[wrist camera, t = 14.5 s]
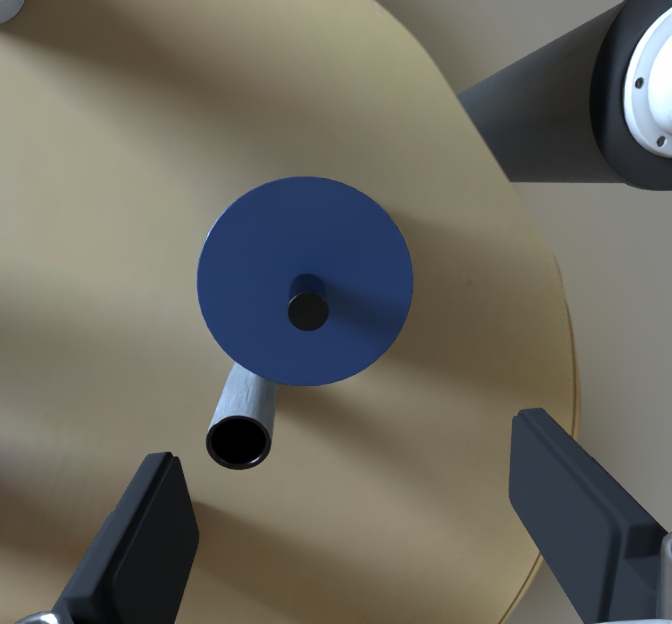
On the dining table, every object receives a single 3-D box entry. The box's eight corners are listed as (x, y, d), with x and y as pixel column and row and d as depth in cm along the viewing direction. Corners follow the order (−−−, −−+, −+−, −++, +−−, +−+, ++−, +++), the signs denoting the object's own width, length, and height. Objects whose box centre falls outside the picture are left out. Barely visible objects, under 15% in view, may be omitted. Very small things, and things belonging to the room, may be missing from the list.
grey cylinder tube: (235, 349, 37) (211, 409, 27) (284, 359, 38) (277, 422, 28) (225, 392, 38) (199, 464, 28) (273, 401, 39) (263, 475, 29)
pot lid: (332, 128, 24) (341, 113, 18) (445, 307, 28) (479, 337, 22) (154, 262, 25) (115, 283, 20) (286, 413, 29) (282, 464, 24)
